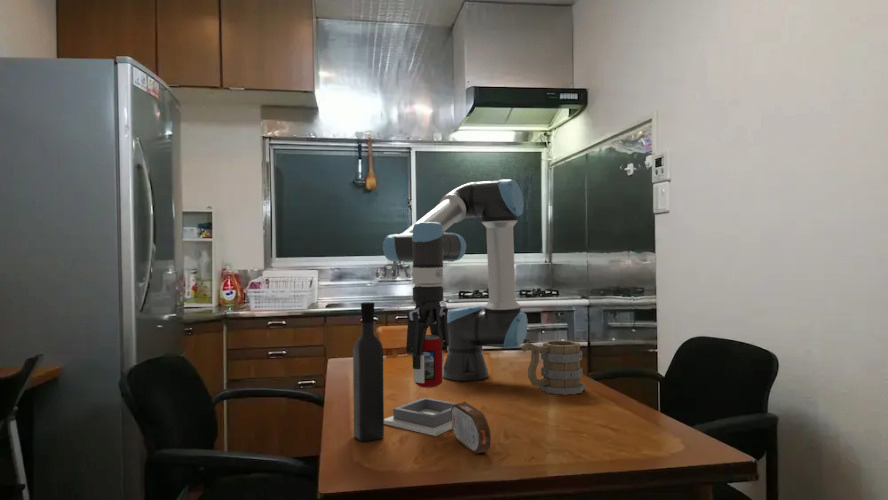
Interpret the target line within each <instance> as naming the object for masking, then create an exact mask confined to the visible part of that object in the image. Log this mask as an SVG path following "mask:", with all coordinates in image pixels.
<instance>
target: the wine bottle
mask: <svg viewBox="0 0 888 500" xmlns="http://www.w3.org/2000/svg"><path fill="white" fill-rule="evenodd" d="M360 313H361V335H360V336H359V337H357V339H355V342H354V345H353V349H352V350H353V351H352V363H353V364H352V366H353V367H352V370H353V373H352V374H353V377H352V378H353V379H352V383H353V384H352V386H353V387H352V388H353V394H352V395H353V399H352V400H353V436H354V437H355V438H356V439H357V440H358V441H360V442H362V443H365V442H371V441H376V440H377V441H378V440H382V439H384V437H385V426H384V425H385V424H384V419H385V416H384V411H385V410H384V408H385V407H384V405H385V403H384V348H383V345H382V344H383V343H382V342H381V341H380V339H379V338H378V337H377V336H376V334H375V302H370V301H369V302H368V301H367V302H360Z"/></svg>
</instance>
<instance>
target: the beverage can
mask: <svg viewBox="0 0 888 500" xmlns="http://www.w3.org/2000/svg"><path fill="white" fill-rule="evenodd" d="M417 350H418V349H417ZM422 355H424V383H417V382H414V383H415V385H417V386H418V387H419V388H422V389H423V388H424V389H431V388H432V389H433V388H438V387H439V386H440V385H442V383H443V377H442V342H441V340H440V338H439V336H437V335H431V334H426V336H425V341H424V346H423V351H422Z"/></svg>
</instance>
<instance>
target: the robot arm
mask: <svg viewBox="0 0 888 500" xmlns="http://www.w3.org/2000/svg"><path fill="white" fill-rule="evenodd" d="M524 203H525V202H524V196H523V192H522V190H521V188H520V185H519V184H518V182H516V181H515V180H514V179H503V178H501V179H495V180H494V179H493V180H486V181H485V180H484V181H472V182H467V183H465V184H462V185H460V186H458V187H455V188H454V189H453V190H450V191H449V192H448V193H446V194H445V195H443V196H442V198H440V200H439V203H438V204H437V205H436V206H435V207H434V208H433V209H431V210H430V211H428V212H427V213H426V214H425V215H423V216H422V217H421V218H419V219H418V220H417V221H416V222H414V224H412V225H410V226H409V227H408V228H406V229H405V231H403V232H401V233H394V234H389V235H386V237H384V240H383V242H382V243H383V244H382V251H383V254H384V257H385V258H386V259H387V260H388V261H390V262H399V263H402V262H404V263H405V262H412V279H411V280H412V281H411V282H412V284H413V285H414V286H413V287H412V301H413V302H415V307H414V310H412V311H407V312H406V318H407V331H406V333H407V334H406V346H405V351H406V354H408V355H411V357H412V369H413V382H414V383H415V382H417V383H424V355H422V351H423V346H424V341H425V336H426V335H427V330H428V328H429V331H430V335H437V336H439V338H440V340H441V342H442V378H445V379H447V380H452V381H458V382H459V381H462V382H463V381H464V382H465V381H466V382H467V381H469V382H471V381H480V380H484V379H486V378H488V377H489V368H488V366H487V363H486V360H485V358H484V357H485V356H484V353H483V347H491V348H502V349H517V348H519V347H521V346H522V345H523V343H524V341H525V339H526V336H527V331H528V322H529V321H528V317H527V316H528V315H527V313H525V312H524V311H522V310H521V305H520V304H519V302H517V300H516V275H515V270H516V269H515V245H514V242H515V241H514V226H516V224H517V223H518V219H519V218H518V217H519V216H522V215H523V213H524V207H525V205H524ZM469 218H470V219H472V218H481V224H482V225H484V226H485V229H486V249H487V250H486V251H487V252H486V253H487V277H488V278H487V281H488V283H487V284H488V302H487V303H486V304H485V305H484V310H483V307H482V306H481V305H475V306H466V307H460V308H452V309H450V310H449V309H448V307H442V305H441V303H440V302H443V301H444V287H443V286H442V284H444V269H443V268H444V262H451V263H452V262H455V261H459V260H461V259H462V258H463V257H464V255H465V254H466V249H467V243H466V240H465V239H464V237H463V236H462V235H460V234H458V233H454V232H446V230H448V229H449V228H450V227H451V226H452V225H454V224H455V223H460V222H461V221H463V220H465V219H469ZM417 349H418V350H417ZM444 351H447V354H446V355H447V356H446V358H445V362H444ZM443 363H444V364H443Z"/></svg>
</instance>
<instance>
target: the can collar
mask: <svg viewBox="0 0 888 500" xmlns="http://www.w3.org/2000/svg"><path fill="white" fill-rule="evenodd" d="M455 404H458V403H457V402H452V401H445V400H440V399H435V398H429V397H423V398H420V399H417V400H413V401H411V402H408V403H406V404H402V405H399V406H397V407H394V408H393V410H392V411H393V412H392V413H393V415H391V416H389V417H385V418H384V425H388V426H391V427H396V428H399V429H403V430H408V431H413V432H417V433H421V434H425V435H430V436H433V437H437V436H439V435H442V434H444V433H446V432H449V431H450V430H453V429H452V419H451V409H452V406H453V405H455Z"/></svg>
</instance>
